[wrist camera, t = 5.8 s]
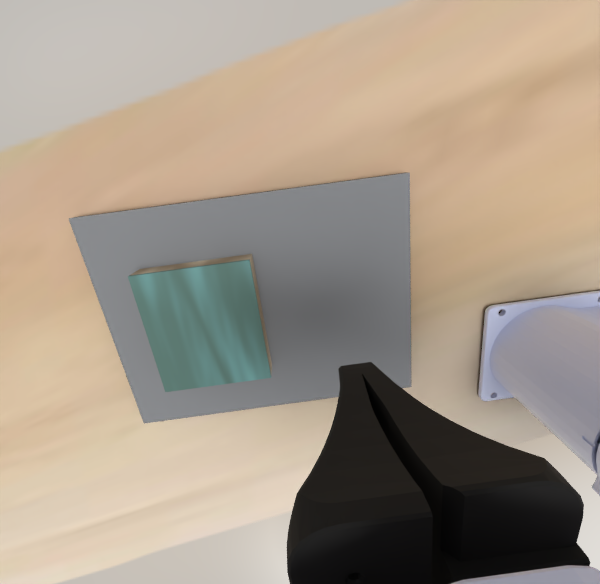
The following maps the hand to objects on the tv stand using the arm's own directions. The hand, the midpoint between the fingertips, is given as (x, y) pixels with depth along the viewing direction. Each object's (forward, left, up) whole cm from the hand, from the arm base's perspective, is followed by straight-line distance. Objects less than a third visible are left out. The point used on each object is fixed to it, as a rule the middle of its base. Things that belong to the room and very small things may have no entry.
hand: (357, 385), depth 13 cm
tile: (+4, 0, -8) cm, 9 cm away
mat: (+4, 0, -9) cm, 10 cm away
